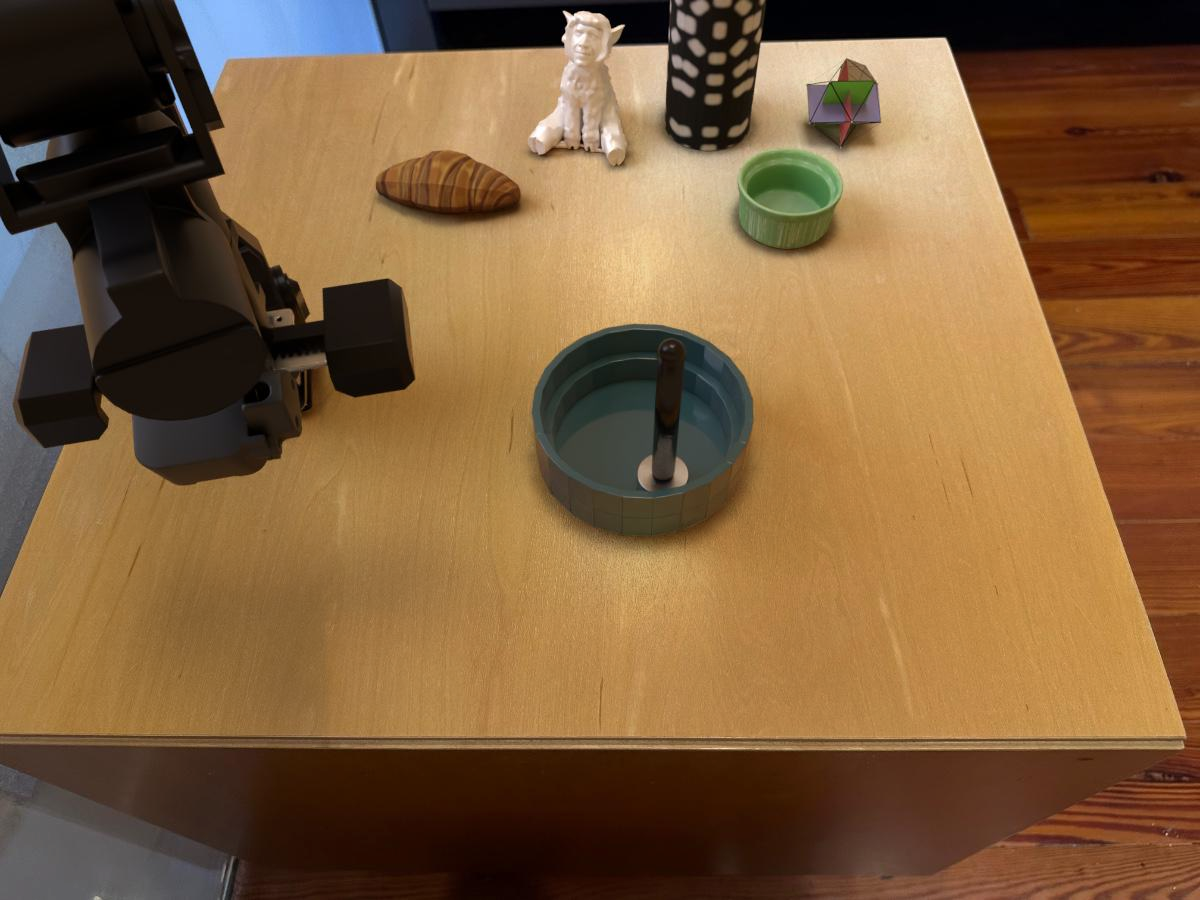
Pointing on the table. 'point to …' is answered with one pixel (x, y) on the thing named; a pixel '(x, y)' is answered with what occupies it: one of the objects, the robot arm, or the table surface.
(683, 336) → the bowl
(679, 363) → the upright rod on disc
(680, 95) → the spotted tube
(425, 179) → the croissant
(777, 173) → the ramekin
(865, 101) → the geometric puzzle
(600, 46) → the sitting furry creature
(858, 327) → the table surface
